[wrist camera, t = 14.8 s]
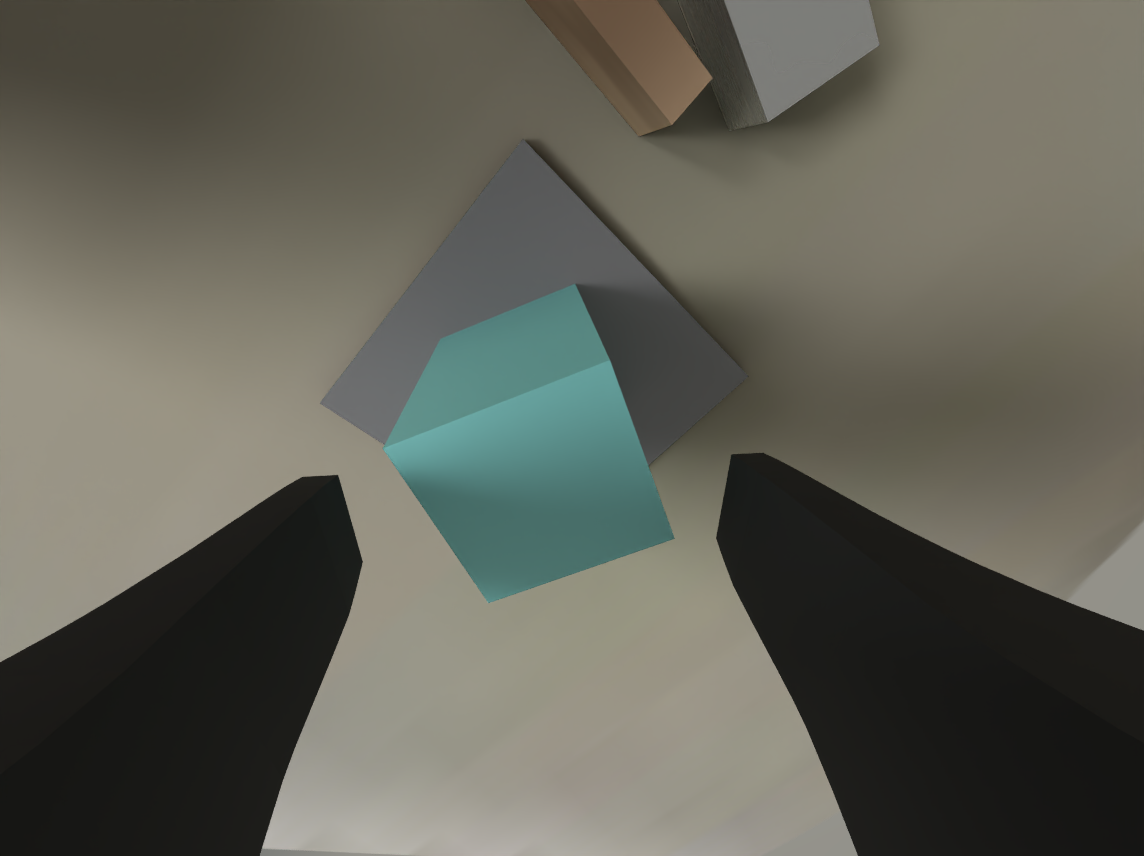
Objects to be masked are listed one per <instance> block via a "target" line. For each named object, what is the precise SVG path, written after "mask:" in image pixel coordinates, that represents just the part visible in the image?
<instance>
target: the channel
mask: <svg viewBox="0 0 1144 856" xmlns="http://www.w3.org/2000/svg"><path fill="white" fill-rule="evenodd" d="M525 1H526V2H527V3H528V4H529V5H530V7H531V8H532V9H533V10H534V11H535V13H536V14H537V15H538V16H539V17H540V19H541V20H542V21H543V22H544V23H545V25H546V26H547V27H548V28H549V29H550V31H551V32H552V33H553V34H554V35H555V37H556V38H557V39H558V40H559V41H560V43H561V44H562V45H563V46H564V47H565V49H566V50H567V51H568V52H569V53H570V55H571V56H572V57H573V58H574V59H575V61H576V62H577V63H578V64H579V65H580V67H581V68H582V69H583V70H584V71H585V73H586V74H587V75H588V76H589V77H590V79H591V80H592V81H593V82H594V83H595V85H596V86H597V87H598V88H599V89H600V91H601V92H602V93H603V94H604V95H605V97H606V98H607V99H608V100H609V101H610V103H611V104H612V105H613V106H614V107H615V108H616V110H617V111H618V112H619V113H620V114H621V116H622V117H623V118H624V119H625V120H626V122H627V123H628V124H629V125H630V126H631V128H632V129H633V130H634V131H635V132H636V134H637V135H638V136H642V135H644V134H647V133H650V132H653V131H656V130H659V129H662V128H664V127H667V126H670V125H672V124H673V123H674V122H675V121H676V120H677V119H678V117H679V116H680V115H681V114H682V113H683V112H684V110H685V109H686V108H687V107H688V106H689V105H690V104H691V102H692V101H693V100H694V99H695V98H696V97H697V96H698V94H699V93H700V92H701V91H702V90H703V89H704V87H705V86H706V85H707V84H708V83H709V82H710V81H711V79H712V76H711V75H710V74H709V72H708V71H707V69H706V68H705V67H704V65H703V64H702V62H701V61H700V60H699V58H698V57H697V55H696V54H695V53H694V51H693V50H692V49H691V47H690V46H689V44H688V43H687V42H686V40H685V39H684V37H683V36H682V35H681V33H680V32H679V30H678V29H677V28H676V26H675V25H674V24H673V22H672V21H671V19H670V18H669V17H668V15H667V14H666V12H665V11H664V10H663V8H662V7H661V6H660V4H659V3H658V1H657V0H525Z"/></svg>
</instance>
